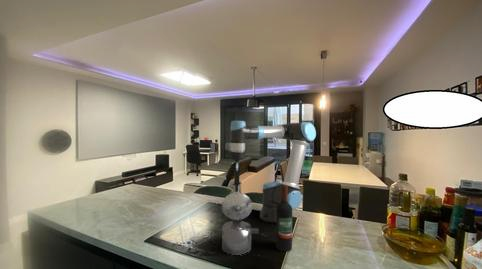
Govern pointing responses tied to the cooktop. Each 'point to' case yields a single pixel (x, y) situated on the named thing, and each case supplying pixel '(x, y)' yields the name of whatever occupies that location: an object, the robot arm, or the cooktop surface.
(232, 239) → the pot
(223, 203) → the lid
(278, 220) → the wine bottle
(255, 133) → the robot arm
